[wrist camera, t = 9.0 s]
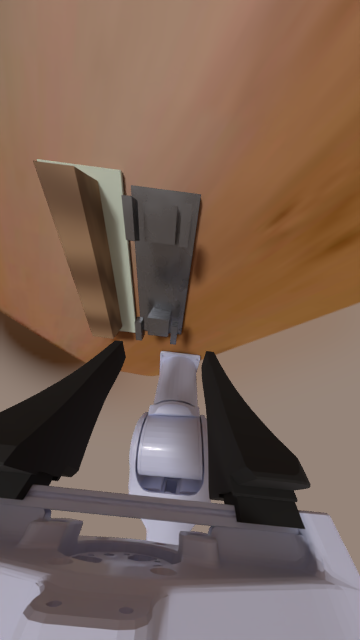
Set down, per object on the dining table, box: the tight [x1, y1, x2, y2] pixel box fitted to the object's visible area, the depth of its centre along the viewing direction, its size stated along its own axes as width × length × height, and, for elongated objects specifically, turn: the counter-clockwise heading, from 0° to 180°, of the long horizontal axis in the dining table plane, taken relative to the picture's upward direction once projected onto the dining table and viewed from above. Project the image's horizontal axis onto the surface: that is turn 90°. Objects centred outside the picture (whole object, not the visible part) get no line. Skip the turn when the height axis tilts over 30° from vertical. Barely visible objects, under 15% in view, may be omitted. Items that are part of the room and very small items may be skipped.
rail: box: [33, 161, 122, 338], centre depth 16 cm, size 18×3×3 cm, turn 174°
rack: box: [121, 185, 201, 344], centre depth 16 cm, size 18×7×5 cm, turn 174°
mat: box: [37, 159, 136, 333], centre depth 18 cm, size 20×8×1 cm, turn 174°
